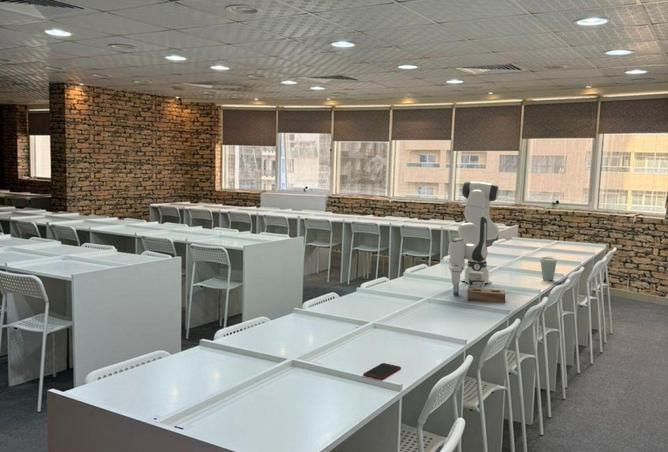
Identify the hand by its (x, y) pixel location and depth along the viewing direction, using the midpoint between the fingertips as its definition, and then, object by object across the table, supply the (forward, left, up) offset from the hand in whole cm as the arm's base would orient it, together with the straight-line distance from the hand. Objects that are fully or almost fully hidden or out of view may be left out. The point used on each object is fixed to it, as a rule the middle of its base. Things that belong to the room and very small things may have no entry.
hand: (456, 289), depth 330 cm
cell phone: (+140, -19, -4) cm, 141 cm away
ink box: (-15, +11, -3) cm, 19 cm away
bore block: (+7, +17, -3) cm, 19 cm away
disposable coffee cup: (-68, +57, -3) cm, 89 cm away
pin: (0, 0, -3) cm, 3 cm away
